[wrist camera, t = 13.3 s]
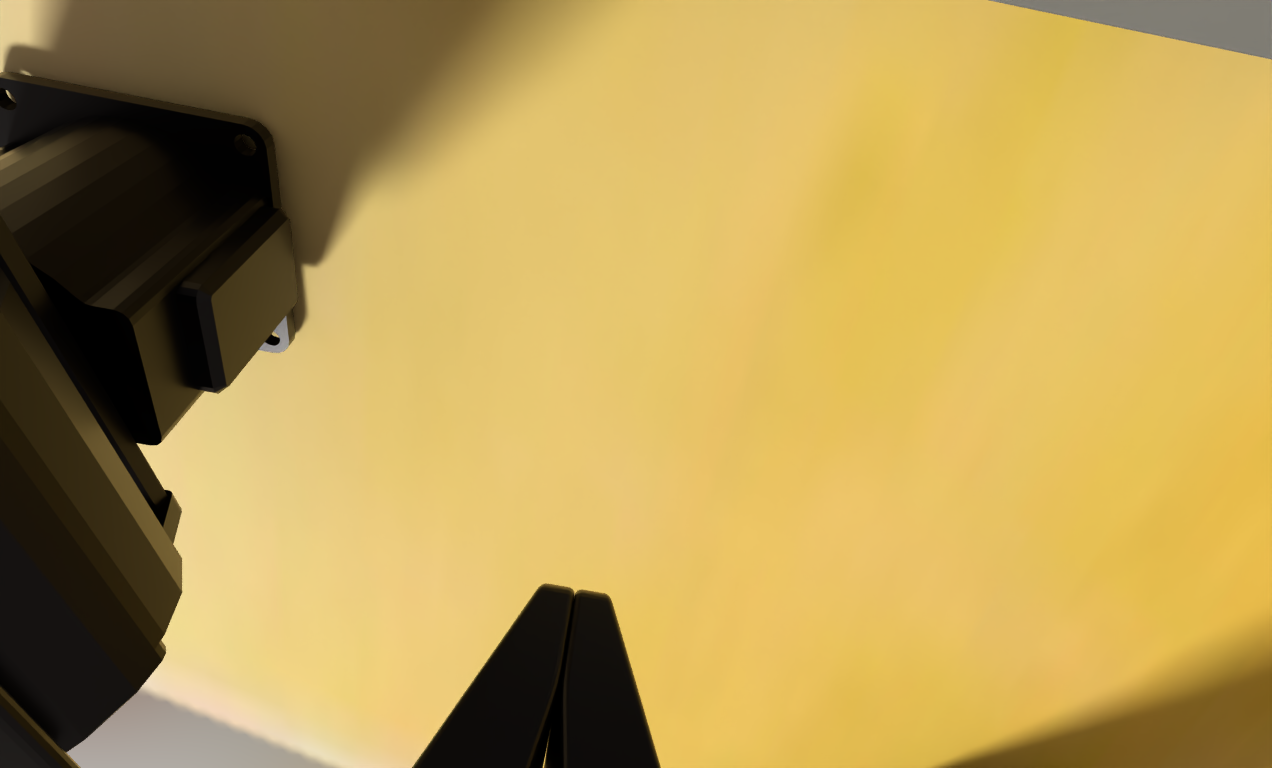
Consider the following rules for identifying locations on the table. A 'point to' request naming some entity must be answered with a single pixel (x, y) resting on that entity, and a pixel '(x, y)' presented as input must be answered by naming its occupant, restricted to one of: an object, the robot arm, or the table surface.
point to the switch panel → (1177, 19)
